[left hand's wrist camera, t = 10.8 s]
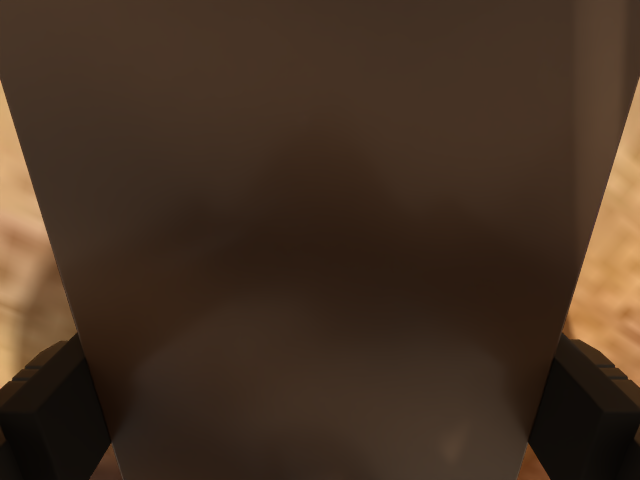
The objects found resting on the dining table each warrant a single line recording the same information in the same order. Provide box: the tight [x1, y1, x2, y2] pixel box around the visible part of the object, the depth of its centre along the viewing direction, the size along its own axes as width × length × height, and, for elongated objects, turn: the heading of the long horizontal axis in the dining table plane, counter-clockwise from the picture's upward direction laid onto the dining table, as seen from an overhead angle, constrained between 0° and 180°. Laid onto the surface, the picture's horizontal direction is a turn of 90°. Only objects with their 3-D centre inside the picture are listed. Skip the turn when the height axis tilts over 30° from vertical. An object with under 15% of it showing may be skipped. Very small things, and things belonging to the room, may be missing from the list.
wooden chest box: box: [0, 0, 640, 480], centre depth 11 cm, size 18×11×8 cm, turn 0°
